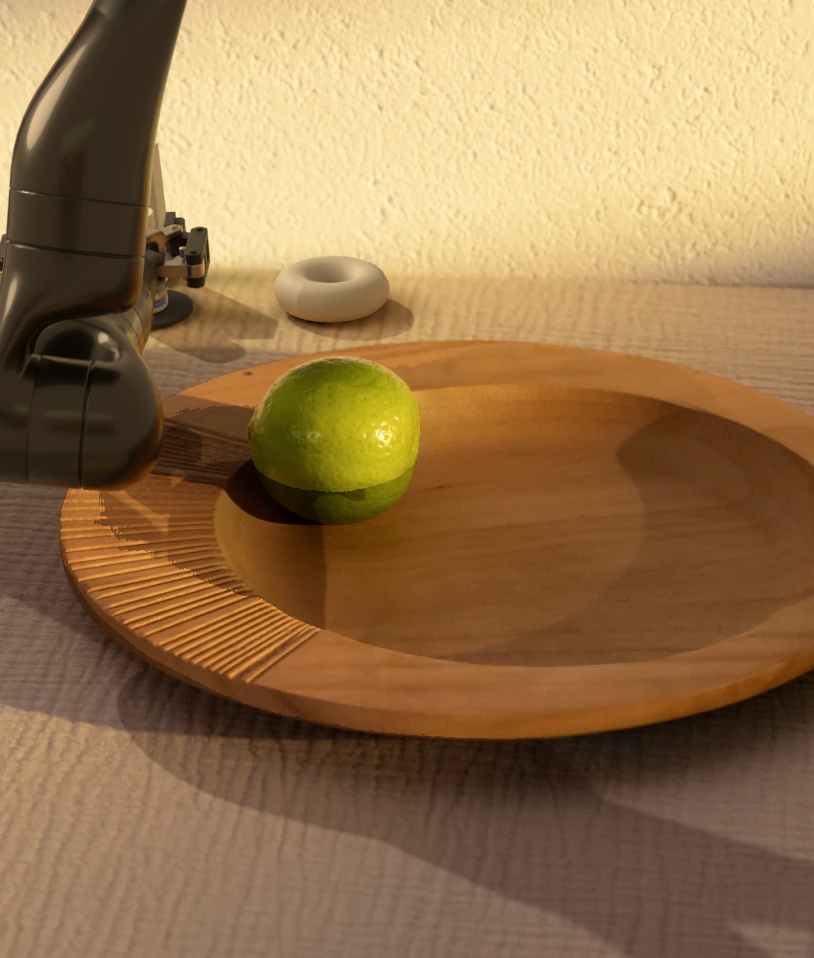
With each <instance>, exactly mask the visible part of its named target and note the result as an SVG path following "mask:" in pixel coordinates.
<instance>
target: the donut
mask: <svg viewBox="0 0 814 958" xmlns="http://www.w3.org/2000/svg"><path fill="white" fill-rule="evenodd" d="M390 288H391V287H390V282H389V279H388V278H387V276H386V274H385V273H384V271H383V270H382V269H381V268H380V267H379V266H378V265H376V264H374V263H372V262H370V261H367V260H364V259H360V258H358V257H353V256H345V255H324V256H323V255H322V256H316V257H315V256H314V257H309V258H304V259H301V260H299V261H296V262H294V263H291V264H289V265H288V266H286V267H284V268H283V269H282V270H281V271H280V272H279V274H278V276H277V277H276V279H275V282H274V284H273V294H274V297H275V299H276V302H277V304H278V306H279V307H280V308H281V309H282V310H284V311H285V312H287V314H289V315H291V316H293V317H295V318H299V319H302V320H304V321H311V322H315V323H316V322H317V323H342V322H343V323H344V322H350V321H351V322H352V321H356V320H359V319H362V318H365V317H368V316H370V315H372V314H375V313H376V312H377V311H378V310H380V309H381V308H382V307H383V306H384V305H385V303H386V302H387V300H388V297H389V293H390Z"/></svg>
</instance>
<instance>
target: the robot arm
mask: <svg viewBox="0 0 814 958" xmlns="http://www.w3.org/2000/svg"><path fill="white" fill-rule="evenodd" d="M188 1H189V0H92V2H91V4H90V5H89V8H88V9H87V11H86V12H85V15H84V18H83V20H82V21H81V22H80V24H79V26H78V27H77V29H76V30H75V32H74V34H73V35H72V36H71V38H70V39H69V41H68V43H67V44H66V46H65V47H64V49H63V50H62V52H61V53H60V54H59V56H58V57H57V58H56V60H55V62H54V63H53V64H52V66H51V67H50V68H49V70H48V72H47V73H46V75H45V76H44V78H43V80H42V81H41V82H40V84H39V86H38V87H37V89H36V90H35V91H34V94H33V96H32V98H31V99H30V101H29V103H28V105H27V107H26V109H25V111H24V114H23V116H22V118H21V121H20V124H19V127H18V130H17V132H16V137H15V140H14V145H13V148H12V155H11V163H10V170H9V182H8V183H9V184H8V187H9V189H8V196H7V197H8V199H7V212H6V225H5V226H6V227H5V233H3V234H2V235H1V237H0V483H1V484H9V485H10V484H12V485H22V486H23V485H24V486H29V485H30V486H37V487H46V488H47V487H48V488H60V489H72V490H73V489H74V490H81V489H82V490H84V491H93V492H105V493H106V492H107V493H109V492H110V493H111V492H121V491H124V490H128V489H130V488H132V487H134V486H137V485H138V484H140V483H141V482H142V481H144V479H146V478H147V477H148V476H149V475H150V473H151V472H152V471H153V470H154V468H155V467H156V465H157V463H158V462H159V459H160V457H161V454H162V450H163V447H164V440H165V415H164V408H163V403H162V399H161V394H160V391H159V389H158V386H157V383H156V381H155V378H154V377H153V374H152V371H151V369H150V368H149V366H148V364H147V362H146V361H145V360H144V357H143V353H144V349H145V347H146V345H147V342H148V340H149V337H150V332H151V331H152V330H151V328H152V326H153V320H154V316H153V309H154V302H155V295H156V288H157V287H158V286H159V285H161V284H162V283H163V282H164V281H165V279H166V278H168V279H171V278H173V279H178V278H179V279H180V278H181V281H182V282H186V287H187V288H189V289H194V290H195V289H196V290H197V289H201V288H203V287H204V286H205V285H206V281H207V276H208V272H209V269H210V264H211V255H210V254H211V252H210V240H209V230H208V228H207V227H205V226H195V227H192V228H191V229H190V231H187V228H186V219H185V218H184V217H183V216H179V217H177V213H176V211H166V214H165V221H164V228H162V229H159V230H156V229H151V228H147V225H148V213H149V207H148V206H149V203H150V191H151V178H152V167H153V159H154V151H155V142H157V141H156V140H157V136H158V129H159V122H160V117H161V112H162V107H163V101H164V98H165V92H166V88H167V83H168V79H169V75H170V71H171V68H172V67H171V65H172V61H173V57H174V54H175V51H176V46H177V43H178V39H179V34H180V31H181V26H182V23H183V19H184V15H185V12H186V8H187V4H188ZM165 244H166V249H165Z"/></svg>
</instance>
